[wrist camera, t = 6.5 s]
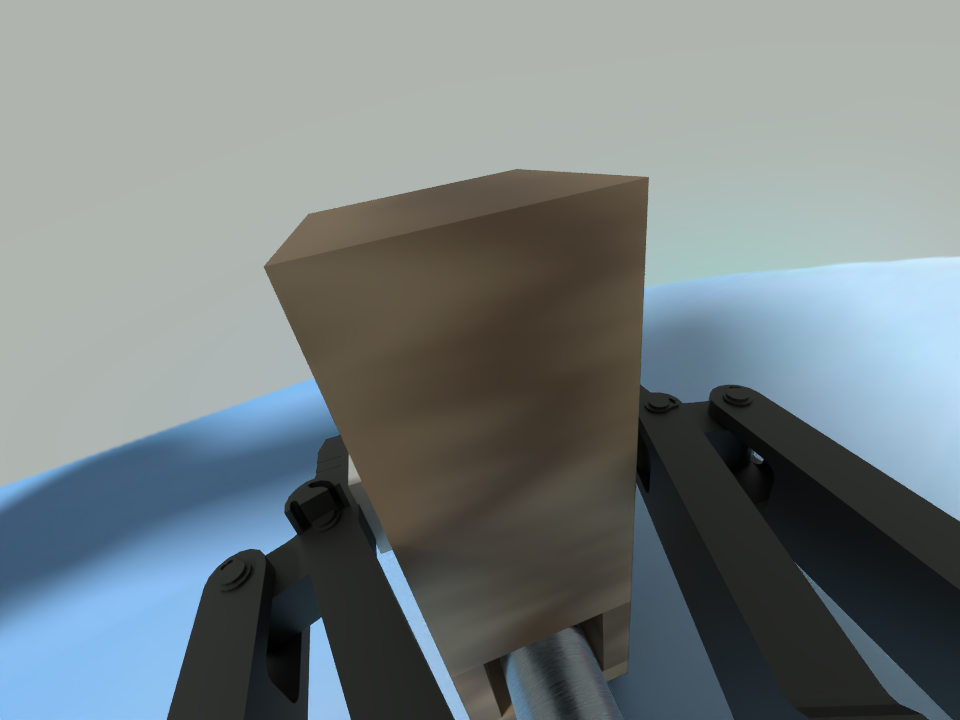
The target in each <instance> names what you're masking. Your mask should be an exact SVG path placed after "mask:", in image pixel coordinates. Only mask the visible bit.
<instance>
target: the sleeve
mask: <svg viewBox="0 0 960 720" xmlns="http://www.w3.org/2000/svg"><path fill="white" fill-rule="evenodd" d="M648 182H649V177H638V176H621V175H603V174H587V173H571V172H554V171H537V170H521V169H516V170H511V171H506V172H502V173H497V174H493V175H488V176H483V177H479V178H474V179H469V180H465V181H460V182H455V183H450V184H446V185H441V186H436V187H432V188H427V189H423V190H418V191H413V192H409V193H404V194H399V195H395V196H390V197H385V198H381V199H377V200H371V201H367V202H362V203H357V204H353V205H348V206H344V207H339V208H334V209H330V210H325V211H320V212H316V213H311V214H308V215H307V216H306V217H305V219H304V220H303V221H302V222H301V223H300V225H299V226H298V227H297V228H296V229H295V231H294V232H293V233H292V234H291V235H290V236H289V237H288V239H287V240H286V241H285V242H284V243H283V245H282V246H281V247H280V248H279V249H278V250H277V252H276V253H275V254H274V255H273V256H272V257H271V259H270V260H269V261H268V262H267V263H266V265H265V266H264V268H265V270H266V273H267V275H268V277H269V279H270V281H271V284H272V286H273V288H274V290H275V292H276V295H277V297H278V299H279V301H280V304H281V305H282V308H283V310H284V312H285V314H286V317H287V319H288V321H289V323H290V325H291V327H292V330H293V332H294V334H295V336H296V339H297V341H298V343H299V345H300V347H301V350H302V352H303V354H304V356H305V358H306V361H307V363H308V365H309V367H310V369H311V372H312V374H313V376H314V378H315V380H316V383H317V385H318V387H319V389H320V391H321V394H322V396H323V398H324V400H325V402H326V405H327V407H328V409H329V411H330V413H331V416H332V418H333V420H334V422H335V424H336V426H337V429H338V431H339V433H340V435H341V437H342V440H343V442H344V444H345V446H346V448H347V451H348V453H349V455H350V457H351V459H352V462H353V464H354V466H355V468H356V470H357V473H358V475H359V477H360V479H361V481H362V484H363V486H364V488H365V490H366V492H367V495H368V497H369V499H370V501H371V503H372V506H373V508H374V510H375V512H376V514H377V517H378V519H379V521H380V523H381V525H382V528H383V530H384V532H385V534H386V536H387V538H388V541H389V543H390V545H391V547H392V549H393V552H394V554H395V556H396V558H397V560H398V563H399V565H400V567H401V569H402V571H403V574H404V576H405V578H406V580H407V582H408V585H409V587H410V589H411V591H412V593H413V596H414V598H415V600H416V602H417V604H418V607H419V609H420V611H421V613H422V615H423V618H424V620H425V622H426V624H427V626H428V629H429V631H430V633H431V635H432V637H433V640H434V642H435V644H436V646H437V648H438V650H439V653H440V655H441V657H442V659H443V661H444V664H445V666H446V668H447V670H448V672H449V675H450V677H451V679H452V681H453V683H454V686H455V688H456V690H457V692H458V694H459V697H460V699H461V701H462V703H463V705H464V708H465V710H466V712H467V714H468V716H469V719H470V720H517V717H516V714H515V711H514V707H513V704H512V700H511V697H510V693H509V690H508V686H507V683H506V680H505V676H504V673H503V669H502V666H501V662H500V659H499V657H501V656H504V655H506V654H508V653H511V652H513V651H515V650H518V649H520V648H522V647H525V646H527V645H529V644H532V643H534V642H536V641H539V640H541V639H543V638H546V637H548V636H550V635H553V634H555V633H557V632H560V631H562V630H564V629H567V628H569V627H571V626H574V625H576V624H579V626H580V628H581V630H582V632H583V634H584V636H585V639H586V641H587V643H588V645H589V647H590V649H591V651H592V653H593V655H594V657H595V659H596V661H597V663H598V665H599V668H600V670H601V672H602V674H603V676H604V678H605V680H606V682H608V681H610V680H612V679H614V678H617V677H619V676H621V675H623V674H625V673H627V672H628V654H629V630H630V606H631V583H632V559H633V536H634V512H635V489H636V465H637V441H638V418H639V394H640V371H641V347H642V323H643V300H644V276H645V251H646V228H647V205H648Z"/></svg>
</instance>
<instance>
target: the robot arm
mask: <svg viewBox="0 0 960 720" xmlns="http://www.w3.org/2000/svg"><path fill="white" fill-rule="evenodd" d="M754 451H755V452H756V453H757V454H758V455H760V456H761V457H762V458H763V459H764V460H763V462H762V461H760V460H759V459H757V458H756V457H755V456H754V455H753V453H754ZM317 464H318V466H317V469H316V477H315V479H313V480H310V481H308V482H306V483H304V484H303V485H301V486H300V487H298V488H297V489H296V490H295V491H294V492H293V493H292V494H291V495H290V496H289V498H288V500H287V502H286V504H285V512H284V513H285V515H286V516H287V518H288V520H289V521H290V523H291V524H292V526H293V528H294V529H295V531H296V532H297V535H296V536H295V537H294V538H292V539H291V540H289V541H288V542H287V543H285V544H283V545H282V546H280V547H279V548H277V549H275V550H274V551H272V552H270V553H269V554H267V555H266V556H265V555H264V554H263V553H262V552H261V551H260V550H255V549H249V550H245V551H241V552H239V553H237V554H235V555H233V556H231V557H229V558H228V559H227V560H225V561H224V562H223V563H222V564H221V565H219V566H218V567H217V568H216V570H215V571H214V572H213V573H212V574H211V576H210V577H209V578H208V581H207V583H206V585H205V587H204V589H203V593H202V596H201V600H200V603H199V607H198V610H197V614H196V618H195V621H194V625H193V628H192V632H191V635H190V639H189V642H188V646H187V649H186V653H185V657H184V660H183V664H182V667H181V671H180V674H179V678H178V681H177V685H176V689H175V692H174V696H173V699H172V703H171V706H170V710H169V713H168V717H167V720H308V685H309V649H310V625H311V624H313V623H314V622H315V621H317V620H318V619H320V618H321V617H322V619H323V623H324V626H325V630H326V633H327V637H328V640H329V644H330V648H331V651H332V655H333V658H334V662H335V665H336V669H337V672H338V676H339V679H340V683H341V686H342V690H343V693H344V697H345V700H346V704H347V707H348V711H349V714H350V718H351V720H455V719H454V717H453V715H452V713H451V711H450V709H449V707H448V705H447V702H446V700H445V698H444V696H443V694H442V692H441V690H440V688H439V686H438V684H437V682H436V680H435V678H434V675H433V673H432V671H431V669H430V667H429V665H428V663H427V661H426V659H425V657H424V655H423V653H422V650H421V648H420V646H419V644H418V642H417V640H416V638H415V636H414V634H413V632H412V630H411V628H410V626H409V623H408V621H407V619H406V617H405V615H404V613H403V611H402V609H401V607H400V605H399V603H398V601H397V598H396V596H395V594H394V592H393V590H392V588H391V586H390V584H389V582H388V580H387V578H386V576H385V574H384V571H383V569H382V567H381V565H380V563H379V561H378V559H377V552H376V544H377V546H378V548H379V551H380V553H381V554H382V553H385V552H387V551H390V550H393V549H392V547H391V545H390V543H389V541H388V538H387V536H386V534H385V532H384V530H383V528H382V525H381V523H380V521H379V519H378V517H377V514H376V512H375V510H374V508H373V506H372V503H371V501H370V499H369V497H368V495H367V492H366V490H365V488H364V486H363V484H362V481H361V479H360V477H359V475H358V473H357V470H356V468H355V466H354V464H353V462H352V459H351V457H350V455H349V453H348V451H347V448H346V446H345V444H344V442H343V440H342V437H341V435H339V436H336V437H333V438H329V439H326V441H325V442H324V444H323V446H322V447H321V449H320V450H319V453H318V461H317ZM636 483H637V485H638V487H639V490H640V492H641V495H642V497H643V500H644V502H645V504H646V507H647V509H648V512H649V514H650V516H651V519H652V521H653V524H654V526H655V529H656V531H657V533H658V536H659V538H660V541H661V543H662V545H663V548H664V550H665V553H666V555H667V558H668V560H669V562H670V565H671V567H672V570H673V572H674V575H675V577H676V579H677V582H678V584H679V587H680V589H681V591H682V594H683V596H684V599H685V601H686V604H687V606H688V608H689V611H690V613H691V616H692V618H693V620H694V623H695V625H696V628H697V630H698V633H699V635H700V637H701V640H702V642H703V645H704V647H705V649H706V652H707V654H708V657H709V659H710V662H711V664H712V666H713V669H714V671H715V674H716V676H717V678H718V681H719V683H720V686H721V688H722V691H723V693H724V695H725V698H726V700H727V703H728V705H729V708H730V710H731V712H732V715H733V717H734V720H928V719H927V718H926V717H925V716H923V715H922V714H920V713H918V712H916V711H914V710H911V709H909V708H907V707H905V706H902V705H900V704H899V703H898V702H896V701H895V700H894V699H893V698H892V697H891V696H890V695H889V694H888V693H887V692H886V690H885V689H884V688H883V687H882V685H881V684H880V683H879V681H878V680H877V678H876V677H875V676H874V674H873V673H872V671H871V670H870V669H869V667H868V666H867V664H866V663H865V661H864V660H863V659H862V657H861V656H860V654H859V653H858V652H857V650H856V649H855V647H854V646H853V644H852V643H851V642H850V640H849V639H848V637H847V636H846V635H845V633H844V632H843V630H842V629H841V627H840V626H839V625H838V623H837V622H836V620H835V619H834V617H833V616H832V615H831V613H830V612H829V610H828V609H827V608H826V606H825V605H824V603H823V602H822V600H821V599H820V598H819V596H818V595H817V593H816V592H815V591H814V589H813V588H812V586H811V585H810V583H809V582H808V581H807V579H806V578H805V576H804V575H803V574H802V572H801V571H800V569H799V568H798V566H799V567H800V568H801V569H802V570H803V571H804V572H805V573H806V574H807V575H808V576H809V577H810V578H811V579H812V580H813V581H814V582H815V583H816V584H817V585H818V586H819V587H820V588H821V589H822V590H823V591H824V592H825V593H826V594H827V595H828V596H829V597H830V598H831V599H832V600H833V601H834V602H835V603H836V604H837V605H838V606H839V607H840V608H841V609H842V610H843V611H844V612H845V613H846V614H847V615H848V616H849V617H850V618H851V619H852V620H853V621H854V622H855V623H856V624H857V625H858V626H859V627H860V628H861V629H862V630H863V631H864V632H865V633H866V634H867V635H868V636H869V637H870V638H871V639H872V640H873V641H874V642H875V643H876V644H877V645H878V646H879V647H880V648H881V649H882V650H883V651H884V652H885V653H886V654H887V655H888V656H889V657H890V658H891V659H892V660H893V661H894V662H895V663H897V664H898V665H899V666H900V667H901V668H902V669H903V670H904V671H905V672H906V673H907V674H908V675H909V676H910V677H911V678H912V679H913V680H914V681H915V682H916V683H917V684H918V685H919V686H920V687H921V688H922V689H923V690H924V691H925V692H926V693H927V694H928V695H929V696H930V697H931V698H932V699H933V700H934V701H935V702H936V703H937V704H938V705H939V706H940V707H941V708H942V709H943V710H944V711H945V712H946V713H947V714H948V715H949V716H950V717H951V718H952V719H953V720H960V521H958V520H956V519H955V518H953V517H952V516H950V515H949V514H947V513H945V512H944V511H942V510H941V509H939V508H938V507H936V506H935V505H933V504H931V503H930V502H928V501H927V500H925V499H924V498H922V497H921V496H919V495H917V494H916V493H914V492H913V491H911V490H910V489H908V488H907V487H905V486H903V485H902V484H900V483H899V482H897V481H896V480H894V479H892V478H891V477H889V476H888V475H886V474H885V473H883V472H882V471H880V470H878V469H877V468H875V467H874V466H872V465H871V464H869V463H868V462H866V461H864V460H863V459H861V458H860V457H858V456H857V455H855V454H854V453H852V452H850V451H849V450H847V449H846V448H844V447H843V446H841V445H840V444H838V443H836V442H835V441H833V440H832V439H830V438H829V437H827V436H825V435H824V434H822V433H821V432H819V431H818V430H816V429H815V428H813V427H811V426H810V425H808V424H807V423H805V422H804V421H802V420H801V419H799V418H797V417H796V416H794V415H793V414H791V413H790V412H788V411H787V410H785V409H783V408H782V407H780V406H779V405H777V404H776V403H774V402H772V401H771V400H769V399H768V398H766V397H765V396H763V395H762V394H760V393H758V392H757V391H754V390H752V389H750V388H747V387H743V386H739V385H724V386H719V387H717V388H714V389H713V390H712V391H711V393H710V397H709V401H706V402H695V403H682V402H681V401H680V400H678V399H677V398H676V397H673V396H671V395H669V394H664V393H650V392H649V391H648V390H646V389H645V388H644V387H643V386H641V385H640V394H639V418H638V441H637V465H636ZM635 490H636V489H635ZM795 563H796V564H797V565H798V566H797V565H796V564H795Z"/></svg>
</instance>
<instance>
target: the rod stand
mask: <svg viewBox="0 0 960 720" xmlns="http://www.w3.org/2000/svg"><path fill="white" fill-rule="evenodd" d="M499 659H500V662H501V666H502V669H503V673H504V676H505V680H506V683H507V686H508V690H509V693H510V697H511V700H512V704H513V707H514V711H515V714H516V717H517V720H625V719H624V717H623V715H622V713H621V711H620V709H619V707H618V705H617V703H616V701H615V699H614V697H613V695H612V692H611V690H610V688H609V686H608V684H607V682H606V680H605V678H604V676H603V674H602V672H601V670H600V668H599V665H598V663H597V661H596V659H595V657H594V655H593V653H592V651H591V649H590V647H589V645H588V643H587V641H586V639H585V636H584V634H583V632H582V630H581V628H580V626H579V624H576V625H574V626H571V627H569V628H567V629H564V630H562V631H560V632H557V633H555V634H553V635H550V636H548V637H546V638H543V639H541V640H539V641H536V642H534V643H532V644H529V645H527V646H525V647H522V648H520V649H518V650H515V651H513V652H511V653H508V654H506V655H504V656H501V657H499Z"/></svg>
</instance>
